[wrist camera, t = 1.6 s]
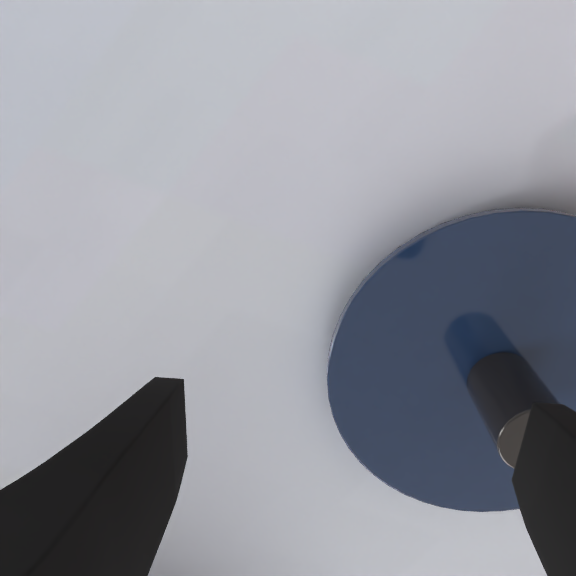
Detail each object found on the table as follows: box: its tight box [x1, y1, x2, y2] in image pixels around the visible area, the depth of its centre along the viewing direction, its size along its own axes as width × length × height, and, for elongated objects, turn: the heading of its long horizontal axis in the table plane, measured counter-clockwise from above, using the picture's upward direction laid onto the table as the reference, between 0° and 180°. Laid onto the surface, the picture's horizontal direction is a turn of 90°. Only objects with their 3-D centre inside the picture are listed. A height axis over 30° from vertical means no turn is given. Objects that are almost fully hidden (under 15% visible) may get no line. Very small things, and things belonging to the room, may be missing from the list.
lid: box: [327, 208, 576, 512], centre depth 17 cm, size 13×13×5 cm
